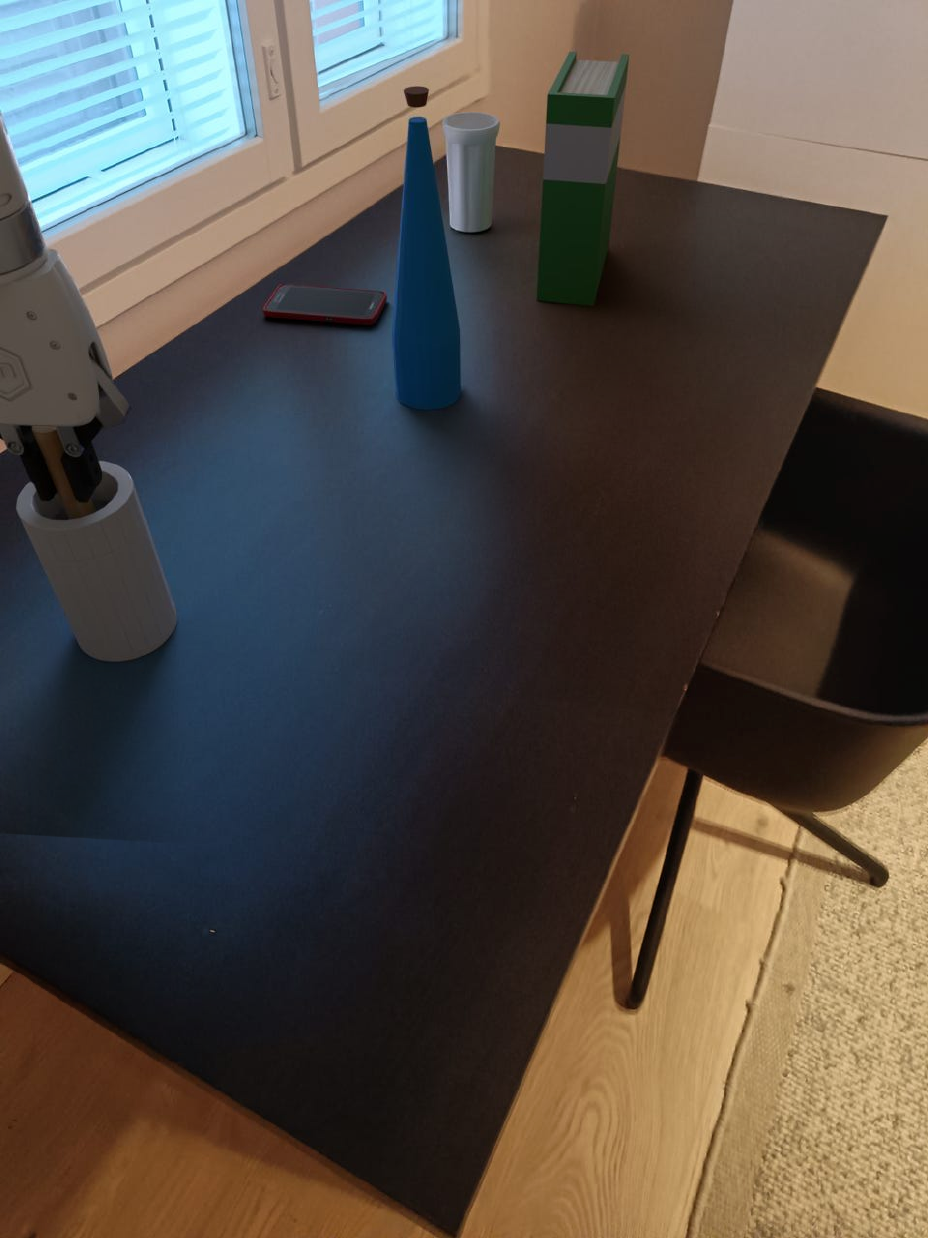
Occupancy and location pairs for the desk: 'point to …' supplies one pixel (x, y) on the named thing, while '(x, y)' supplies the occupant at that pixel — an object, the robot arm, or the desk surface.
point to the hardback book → (579, 177)
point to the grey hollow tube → (103, 568)
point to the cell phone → (325, 304)
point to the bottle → (424, 282)
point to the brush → (60, 471)
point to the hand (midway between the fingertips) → (71, 488)
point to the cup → (470, 168)
